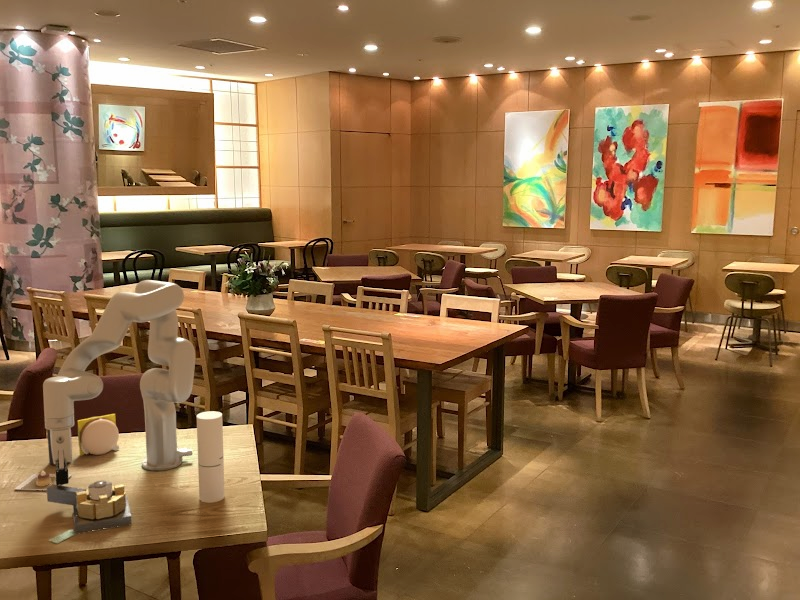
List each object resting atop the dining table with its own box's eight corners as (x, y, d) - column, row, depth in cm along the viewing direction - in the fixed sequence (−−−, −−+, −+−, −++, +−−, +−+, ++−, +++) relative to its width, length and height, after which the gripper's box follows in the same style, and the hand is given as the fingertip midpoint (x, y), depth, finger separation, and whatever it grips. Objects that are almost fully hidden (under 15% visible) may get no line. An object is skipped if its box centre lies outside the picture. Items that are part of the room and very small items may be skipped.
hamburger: (84, 460, 245) (82, 425, 243) (77, 452, 251) (75, 418, 249) (122, 452, 252) (120, 418, 250) (114, 445, 259) (112, 412, 257)
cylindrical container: (229, 494, 221) (227, 412, 216) (215, 504, 214) (213, 420, 210) (208, 490, 223) (205, 410, 219) (194, 500, 216) (191, 417, 212)
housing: (127, 503, 213) (125, 469, 212) (132, 530, 198) (130, 494, 196) (48, 516, 205) (46, 480, 204) (48, 545, 189) (45, 507, 188)
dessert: (34, 476, 233) (33, 461, 232) (72, 477, 233) (71, 462, 232) (13, 492, 221) (12, 477, 220) (53, 493, 221) (52, 478, 220)
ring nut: (134, 502, 208) (133, 483, 207) (106, 521, 197) (105, 501, 196) (65, 492, 214) (64, 473, 213) (34, 510, 203) (33, 490, 202)
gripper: (74, 427, 204) (77, 491, 207) (73, 412, 218) (76, 472, 221) (44, 430, 201) (47, 495, 204) (45, 414, 215) (48, 475, 217)
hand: (62, 483), depth 212 cm, fingers closed
